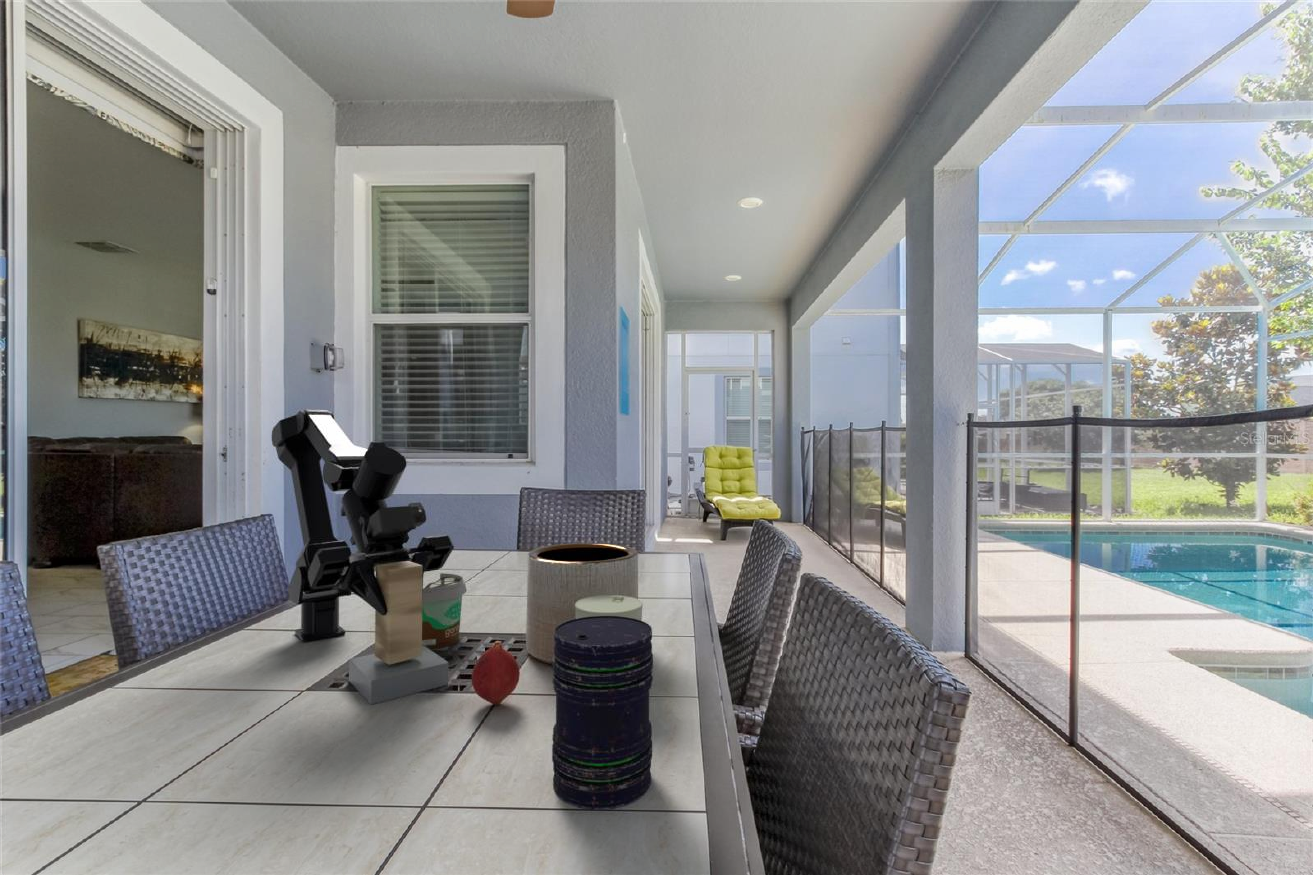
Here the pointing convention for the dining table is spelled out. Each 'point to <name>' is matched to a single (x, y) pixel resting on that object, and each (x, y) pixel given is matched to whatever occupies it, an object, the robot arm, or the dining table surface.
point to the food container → (442, 611)
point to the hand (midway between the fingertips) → (403, 610)
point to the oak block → (399, 612)
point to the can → (609, 606)
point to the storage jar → (602, 711)
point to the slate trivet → (397, 676)
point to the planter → (572, 586)
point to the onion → (495, 674)
